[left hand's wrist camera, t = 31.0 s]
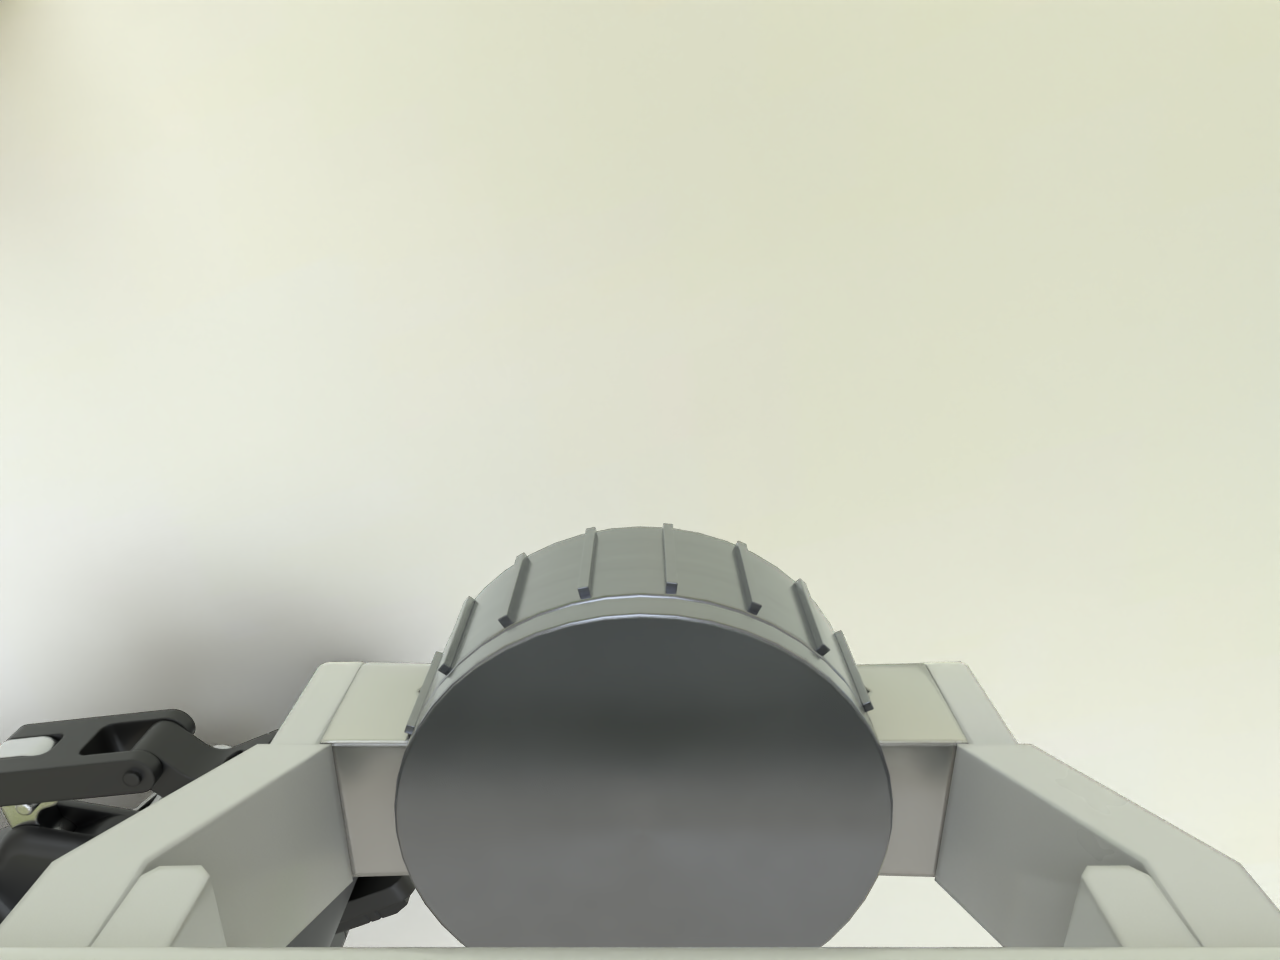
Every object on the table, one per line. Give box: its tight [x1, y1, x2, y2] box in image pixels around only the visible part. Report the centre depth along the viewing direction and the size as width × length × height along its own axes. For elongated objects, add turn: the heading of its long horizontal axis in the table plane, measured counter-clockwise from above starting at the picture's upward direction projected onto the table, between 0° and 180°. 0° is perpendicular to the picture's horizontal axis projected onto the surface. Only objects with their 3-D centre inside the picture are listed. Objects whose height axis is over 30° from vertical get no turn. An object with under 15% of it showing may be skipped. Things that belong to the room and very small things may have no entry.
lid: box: [394, 523, 893, 947], centre depth 9 cm, size 5×5×2 cm
